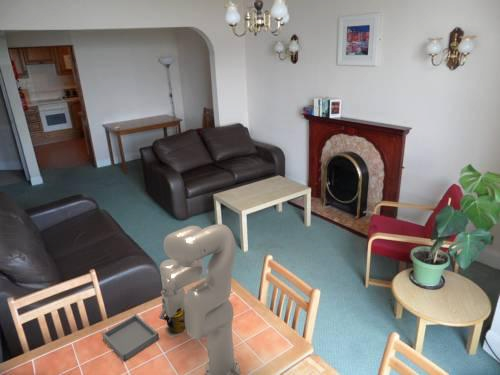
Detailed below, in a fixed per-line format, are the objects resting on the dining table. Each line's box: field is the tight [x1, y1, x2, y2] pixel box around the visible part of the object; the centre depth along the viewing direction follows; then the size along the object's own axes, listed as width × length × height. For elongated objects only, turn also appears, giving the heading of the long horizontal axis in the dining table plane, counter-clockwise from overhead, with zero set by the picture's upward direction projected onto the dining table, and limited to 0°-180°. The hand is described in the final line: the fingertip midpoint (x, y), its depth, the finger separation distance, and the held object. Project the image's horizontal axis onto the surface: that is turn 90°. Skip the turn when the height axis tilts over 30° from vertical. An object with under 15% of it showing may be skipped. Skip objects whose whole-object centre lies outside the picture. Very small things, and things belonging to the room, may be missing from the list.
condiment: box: [164, 308, 187, 339], centre depth 159 cm, size 7×8×12 cm
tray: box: [101, 314, 160, 362], centre depth 157 cm, size 18×16×3 cm
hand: (177, 322), depth 161 cm, fingers closed on condiment, 6 cm apart
